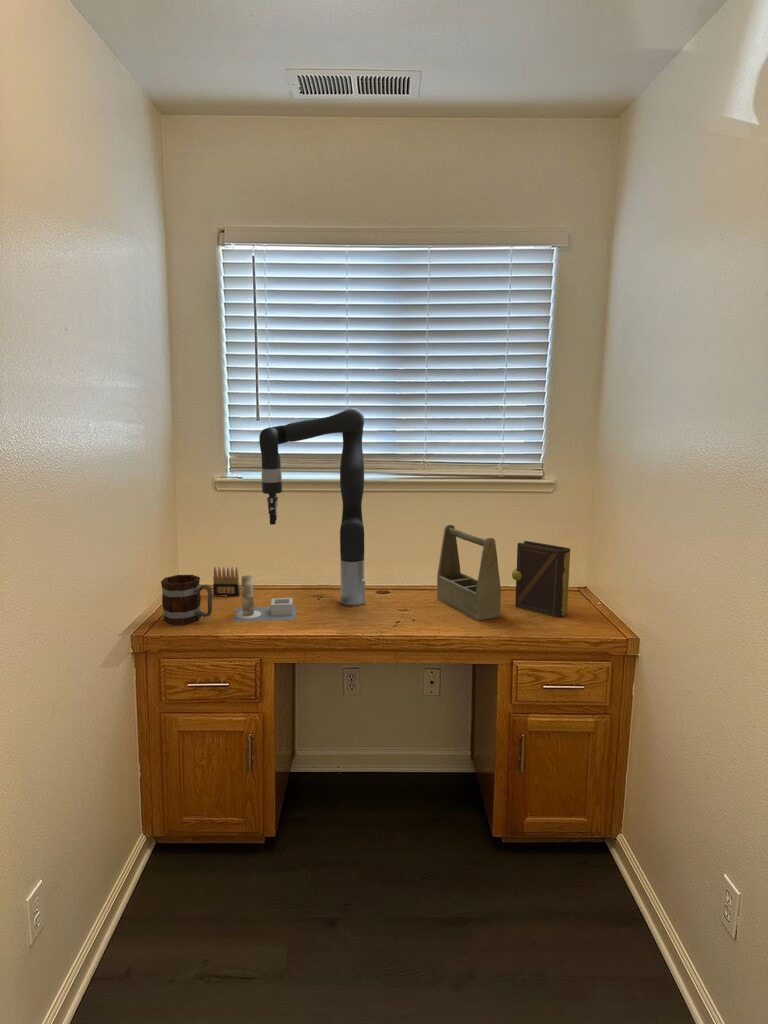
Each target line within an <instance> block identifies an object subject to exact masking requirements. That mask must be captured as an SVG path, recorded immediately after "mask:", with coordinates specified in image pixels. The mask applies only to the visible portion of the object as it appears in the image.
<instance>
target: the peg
mask: <svg viewBox="0 0 768 1024" xmlns="http://www.w3.org/2000/svg"><path fill="white" fill-rule="evenodd" d="M253 577H254V576H252V575H249V574H248V575H247V574H246V575H243V576H241V577H240V579H241V606H242V609H243V615H244V616H252V615H254V607H255V605H254V601H255V600H254V579H253Z"/></svg>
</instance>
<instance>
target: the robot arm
mask: <svg viewBox="0 0 768 1024" xmlns="http://www.w3.org/2000/svg"><path fill="white" fill-rule="evenodd" d="M364 425H365V415H364V414H363V412H362V411H361V410H360V409H358V408H355V407H348V408H346V409H344V410H343V411H340V412H338V413H335V414H333V415H329V416H325V417H320V418H314V419H306V420H305V419H304V420H300V421H296V422H295V421H294V422H291V423H287V424H285V425H277V426H271V427H270V426H269V427H266V428H264V429H262V430H261V431H260V434H259V437H258V438H259V439H258V442H259V448H260V454H261V491H262V492H261V493H263V494H267V495H268V497H267V498H266V503H267V509H268V516H269V524H270V525H273V526H274V525H276V523H277V516H278V515H277V511H278V505H279V504H278V502H279V497H278V496H277V494H281V493H283V478H282V477H283V476H282V470H281V469H282V468H281V465H282V464H281V463H282V462H281V456H280V454H279V445H281V444H286V443H294V442H299V441H305V440H309V439H313V438H316V437H320V436H324V435H330V434H338V433H339V434H340V433H342V451H341V455H340V456H341V457H340V466H339V469H340V470H339V483H340V485H339V488H340V495H341V500H342V513H341V522H340V530H339V547H340V548H339V552H340V553H339V554H340V555H339V557H340V602H341V604H342V605H346V606H360V605H363V604H366V579H365V527H364V520H363V509H362V507H363V506H362V503H363V496H364V489H365V463H364V462H365V461H364V452H363V451H364V450H363V432H364Z"/></svg>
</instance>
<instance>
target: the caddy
mask: <svg viewBox="0 0 768 1024" xmlns="http://www.w3.org/2000/svg"><path fill="white" fill-rule="evenodd" d="M457 538H459V539H461V540H464V541H468V542H470V543H473V544H476V545H478V546H481V547H483V548H482V551H481V558H480V566H479V571H478V576H477V579H475V578H474V577H472V576H469V575H467V574H465V573H462V572H461V566H460V565H461V564H460V557H459V548H458V543H457V542H458V541H457ZM497 552H498V551H497V544H496V540H495V538H493V537H487V538H485V539H484V538H481V537H477V536H475V535H472V534H468V533H465V532H463V531H461V530H459V529H455V526H454V525H453V524H446V525H445V526H444V529H443V536H442V541H441V549H440V555H439V561H438V562H439V563H438V568H437V575H436V576H437V577H436V578H437V579H436V584H437V585H436V586H437V587H436V588H437V594H436V595H437V597H436V599H437V600H439V601H440V602H441V603H445V604H446V605H448V606H450V607H452V608H454V609H456V610H457V611H458V612H461V613H463V614H464V615H466V616H468V617H470V618H472V619H473V620H474V621H482V620H489V619H493V618H494V619H495V618H500V617H501V608H502V607H501V605H502V604H501V602H502V600H501V599H502V590H501V589H502V588H501V579H500V572H499V571H500V570H499V563H498V562H499V561H498V553H497Z"/></svg>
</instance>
